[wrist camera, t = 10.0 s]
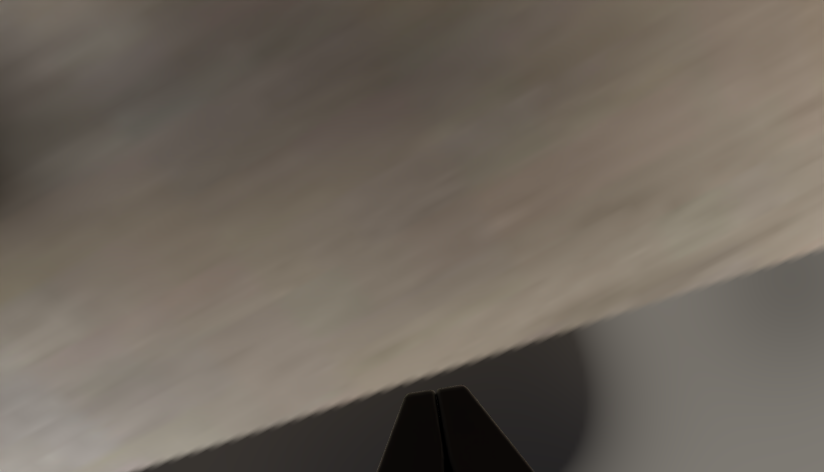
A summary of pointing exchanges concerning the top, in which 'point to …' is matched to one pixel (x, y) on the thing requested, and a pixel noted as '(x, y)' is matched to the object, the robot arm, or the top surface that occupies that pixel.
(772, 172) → the top surface
